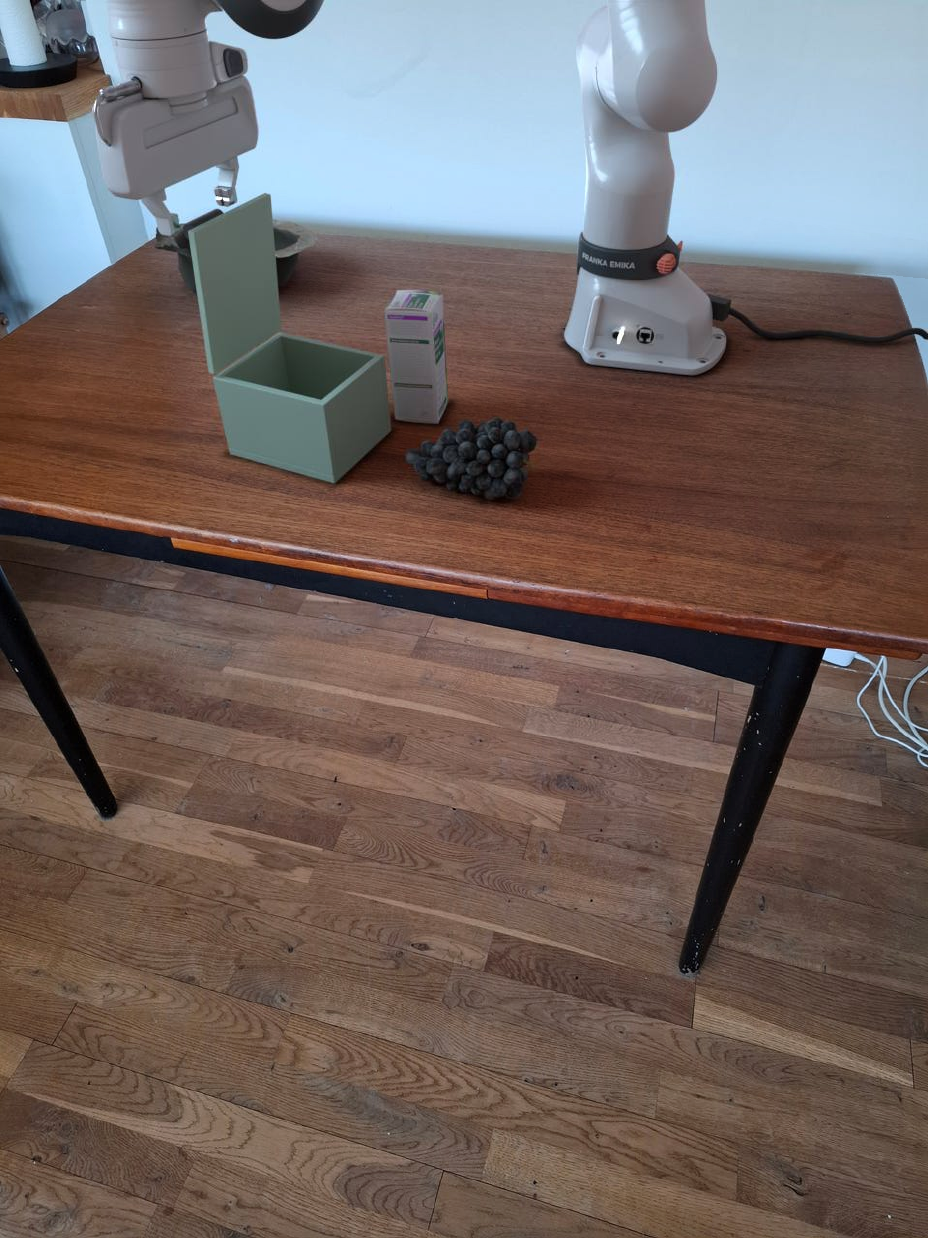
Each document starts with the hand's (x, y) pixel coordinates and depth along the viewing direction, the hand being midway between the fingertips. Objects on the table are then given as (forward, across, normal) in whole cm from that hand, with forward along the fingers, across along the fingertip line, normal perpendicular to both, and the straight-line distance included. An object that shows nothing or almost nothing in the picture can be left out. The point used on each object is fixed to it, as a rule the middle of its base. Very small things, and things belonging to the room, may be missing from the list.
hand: (200, 218), depth 94 cm
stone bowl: (+25, +38, +28) cm, 53 cm away
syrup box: (+25, +12, -19) cm, 33 cm away
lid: (+7, 0, -4) cm, 8 cm away
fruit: (+25, 0, -32) cm, 40 cm away
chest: (+25, 0, -10) cm, 27 cm away
